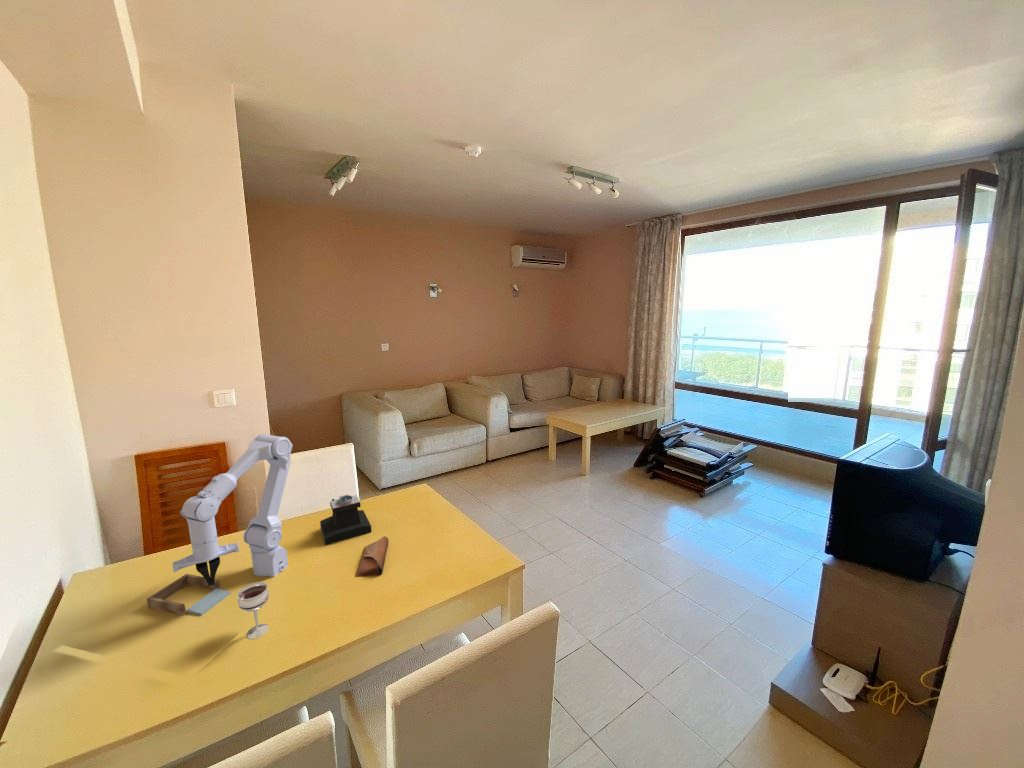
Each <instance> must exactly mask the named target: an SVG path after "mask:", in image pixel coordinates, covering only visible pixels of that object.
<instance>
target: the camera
mask: <svg viewBox="0 0 1024 768" xmlns="http://www.w3.org/2000/svg"><path fill="white" fill-rule="evenodd" d="M329 505H330V508H331V511H332V515H331V516H329V517H327V518H324V519H322V520H320V521H319V523H320V524H319V525H320V531H321V535H322V537H323V540H324V545H325V546H329V545H333V544H336V543H339V542H342V541H345V540H349V539H354V538H356V537H359V536H364V535H366V534H371V533H372V525H371V523H370V521H369V519H368V517H367V514H366V513H365V511H364V510H363V509H358V508H361V501H360V499H359V497H358V495H349V494H344V495H340V496H338V499H335V498H332V499H331V500H330V502H329Z"/></svg>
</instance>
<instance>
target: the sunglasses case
mask: <svg viewBox="0 0 1024 768" xmlns="http://www.w3.org/2000/svg"><path fill="white" fill-rule="evenodd" d="M389 543H390V542H389V538H388V537H387V536H382V537H380V538H379V539H378V540H376V541H374V542H372V543H369V544H368V545H366V546H365V547H364V549H363V554H362V557H361V560H360V562H359V563H360V564H359V566H358V568H357V571H356V575H355V577H356V578H359V577H372V576H373V577H374V576H382V574H383V571H384V567H385V561H386V556H387V551H388V547H389Z"/></svg>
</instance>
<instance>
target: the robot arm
mask: <svg viewBox="0 0 1024 768" xmlns="http://www.w3.org/2000/svg"><path fill="white" fill-rule="evenodd" d="M292 449H293V444H292V442H291V440H290V439H289V438H288V437H287V436H278V435H270V434H266V433H261V434H258V435H257V436H255V438H254V439H253V440H251V441H250V442H249V444H248V448H247V449H246V450H245V452H244V453H243V454H241V456H240V457H239V458H238V459H237V460H236V462H234V464H233V465H232V466H230V468H229V470H228V471H227V472H225V473H219V474H217V475H214V476H213V477H212V478H211V481H210V482H209V483H208V484H207V485H206V486H205V487H204V488H203V489H202V490H200V491H199V492H198V493H197V495H194V496H192V497H189V498H188V499H186V501H185V502H184V503H183V505H182V508H181V510H179V511H180V515H181V516H182V517H183V518H185V519H186V522H187V526H188V532H189V538H190V544H191V550H192V554H191V555H187V556H186V557H182V558H181V559H179V560H176V561H173V562H172V564H171V565H172V571H173V573H176V572H179V571H180V570H182V569H185V568H188V567H191V566H195V569H196V571H197V572H198V573H199V574H201V575H200V576H201V577H204V578H205V580H206V581H207V583H208V586H211V585H214V584H215V583H214V581H215V579H216V575H217V571H218V569H219V567H220V564H221V558H220V557H223V556H226V555H230V554H232V553H239V552H240V545H239V542H235V543H231V544H225V545H219V537H218V532H217V527H216V518H215V516H216V515H217V514H218V511H219V507H220V506H221V505H222V501H224V500H225V499H226V498H227V497H228V496H229V494H231V493H232V492H233V490H234V489H235V488H237V485H238V484H237V483H238V482H237V481H238V480H239V479H240V478H241V477H242V476H243V475H244V474H245V473H247V472H248V471H249V470H250V469H251V468H252V467H253V466H254V465H256V463H257V462H259V461H264V460H266V462H268V463H269V468H268V473H267V478H266V481H265V485H264V489H263V492H262V497H261V499H260V500H261V502H260V505H259V507H258V512H257V515H256V516H255V517H253V518H251V519H250V520H249V523H248V526H247V528H246V529H245V530H244V532H243V537H242V538H243V542H244V543H246V545H248V546H249V547H248V548H249V549H250V554H251V563H252V564H251V565H252V569H253V574H254V575H255V576H258V577H262V576H263V577H264V576H265V577H272V578H276V577H277V576H278V575H279V574H280V573H281V572H282V571H283V570H285V569H286V568H287V567H288V566H289V560H288V558H289V557H288V551H287V548H285V547H283V546H281V545H280V543H281V540H282V537H283V532H282V528H283V523H282V522H281V520H280V518H279V516H278V514H279V510H280V505H281V503H282V498H283V495H284V489H285V486H286V482H287V478H288V474H289V470H290V467H291V461H292V458H291V456H292V455H291V453H292ZM208 566H209V567H208Z"/></svg>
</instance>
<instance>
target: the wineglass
mask: <svg viewBox="0 0 1024 768" xmlns="http://www.w3.org/2000/svg"><path fill="white" fill-rule="evenodd" d="M268 586H269V585H268V584H267V582H264V581H255V582H253V583H252V582H251V583H249V584H247V585H245V586H244V587H241V588H240V589H239V591H238V592H237V595H236V597H237V598H238V599H237V605H238V608H239V609H240V610H242V611H244V612H247V613H252V612H253V616H254V621H255V626H253V627H251V628H250V629H249V630H248V631H247V632H246V637H247V638H248V639H249V640H254V639H258V638H260V637H262V636H265V634H266V633H267V632H268V631H269V628H270V627H269V625H268V624H266V623H260V624H259V619H258V610H259V609H261V608H262V607H263V606H264V605H265V604H266V603H267V601H268V599H269V596H270V595H269V594H270V593H269V590H268Z"/></svg>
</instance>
